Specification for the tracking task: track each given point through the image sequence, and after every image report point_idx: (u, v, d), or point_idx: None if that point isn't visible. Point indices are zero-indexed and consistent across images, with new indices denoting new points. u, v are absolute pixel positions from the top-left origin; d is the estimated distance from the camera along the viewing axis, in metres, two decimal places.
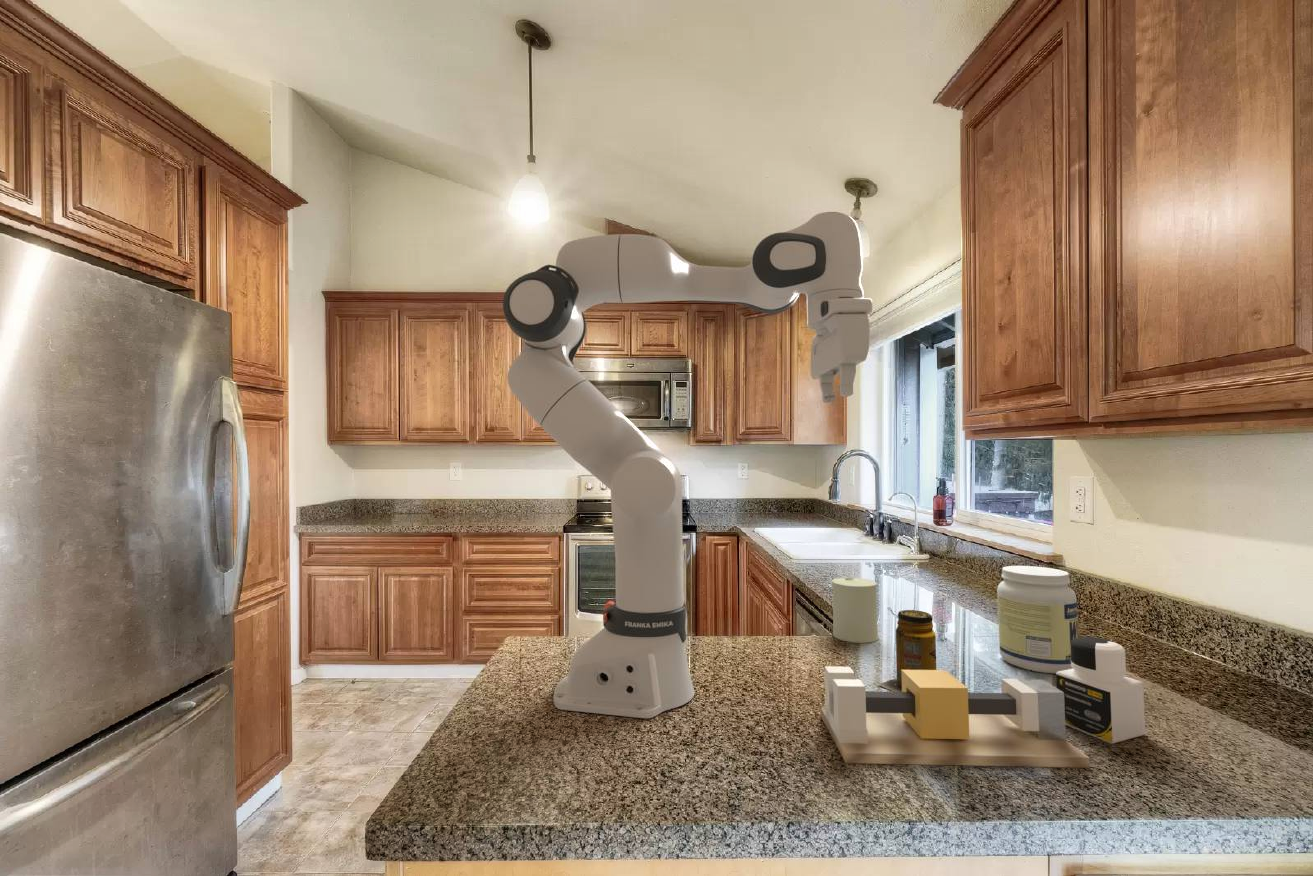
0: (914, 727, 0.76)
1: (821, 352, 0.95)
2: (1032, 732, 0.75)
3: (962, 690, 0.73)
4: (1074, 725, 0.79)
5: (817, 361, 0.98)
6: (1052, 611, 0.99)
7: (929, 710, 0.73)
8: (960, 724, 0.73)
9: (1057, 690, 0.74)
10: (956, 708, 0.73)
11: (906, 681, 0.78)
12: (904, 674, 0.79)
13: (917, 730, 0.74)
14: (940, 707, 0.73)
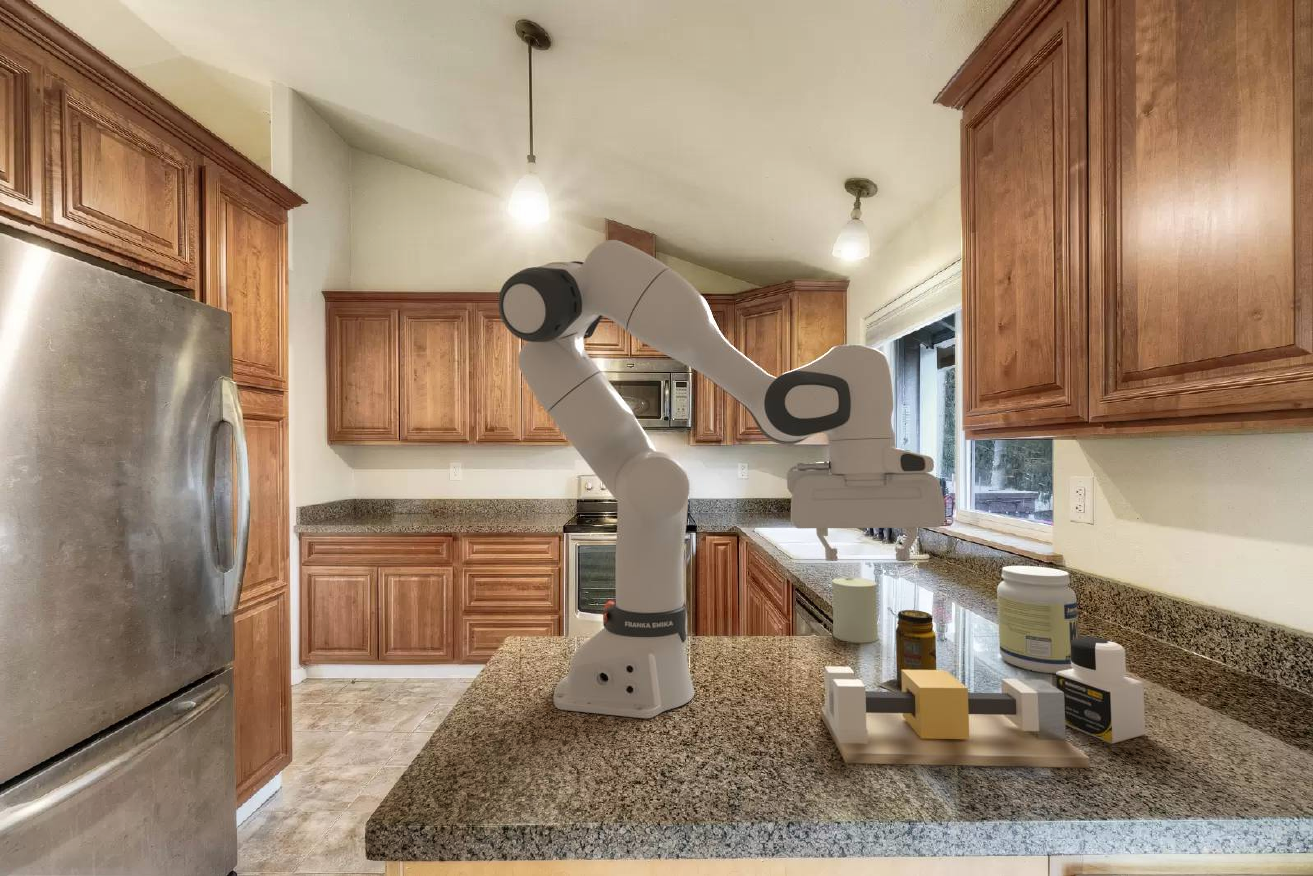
0: (914, 727, 0.76)
1: (850, 503, 0.79)
2: (1032, 732, 0.75)
3: (962, 690, 0.73)
4: (1074, 725, 0.79)
5: (830, 511, 0.79)
6: (1052, 611, 0.99)
7: (929, 710, 0.73)
8: (960, 724, 0.73)
9: (1057, 690, 0.74)
10: (956, 708, 0.73)
11: (906, 681, 0.78)
12: (904, 674, 0.79)
13: (917, 730, 0.74)
14: (940, 707, 0.73)
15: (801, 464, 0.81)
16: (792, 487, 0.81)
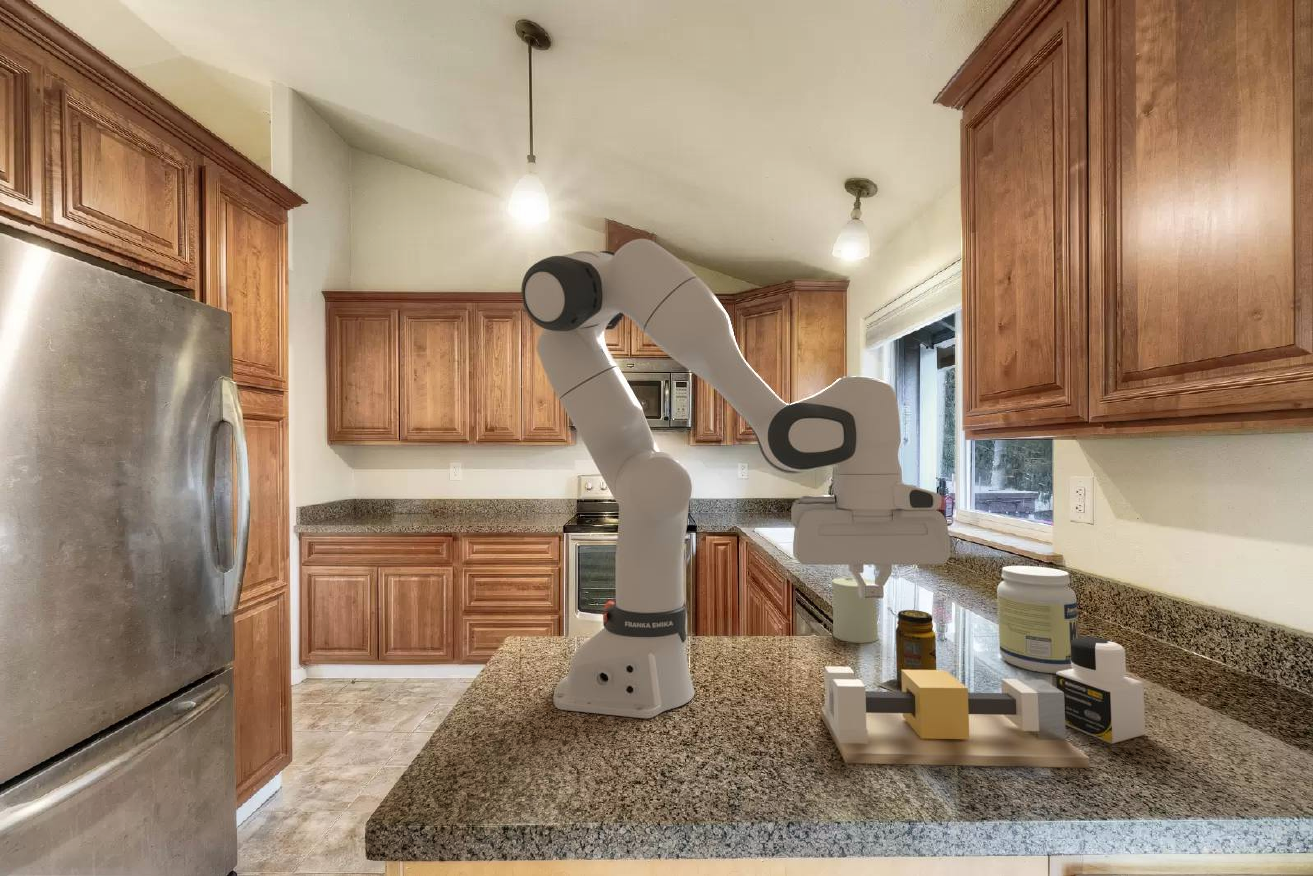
0: (914, 727, 0.76)
1: (856, 539, 0.76)
2: (1032, 732, 0.75)
3: (962, 690, 0.73)
4: (1074, 725, 0.79)
5: (836, 547, 0.76)
6: (1052, 611, 0.99)
7: (929, 710, 0.73)
8: (960, 724, 0.73)
9: (1057, 690, 0.74)
10: (956, 708, 0.73)
11: (906, 681, 0.78)
12: (904, 674, 0.79)
13: (917, 730, 0.74)
14: (940, 707, 0.73)
15: (806, 497, 0.78)
16: (797, 521, 0.78)
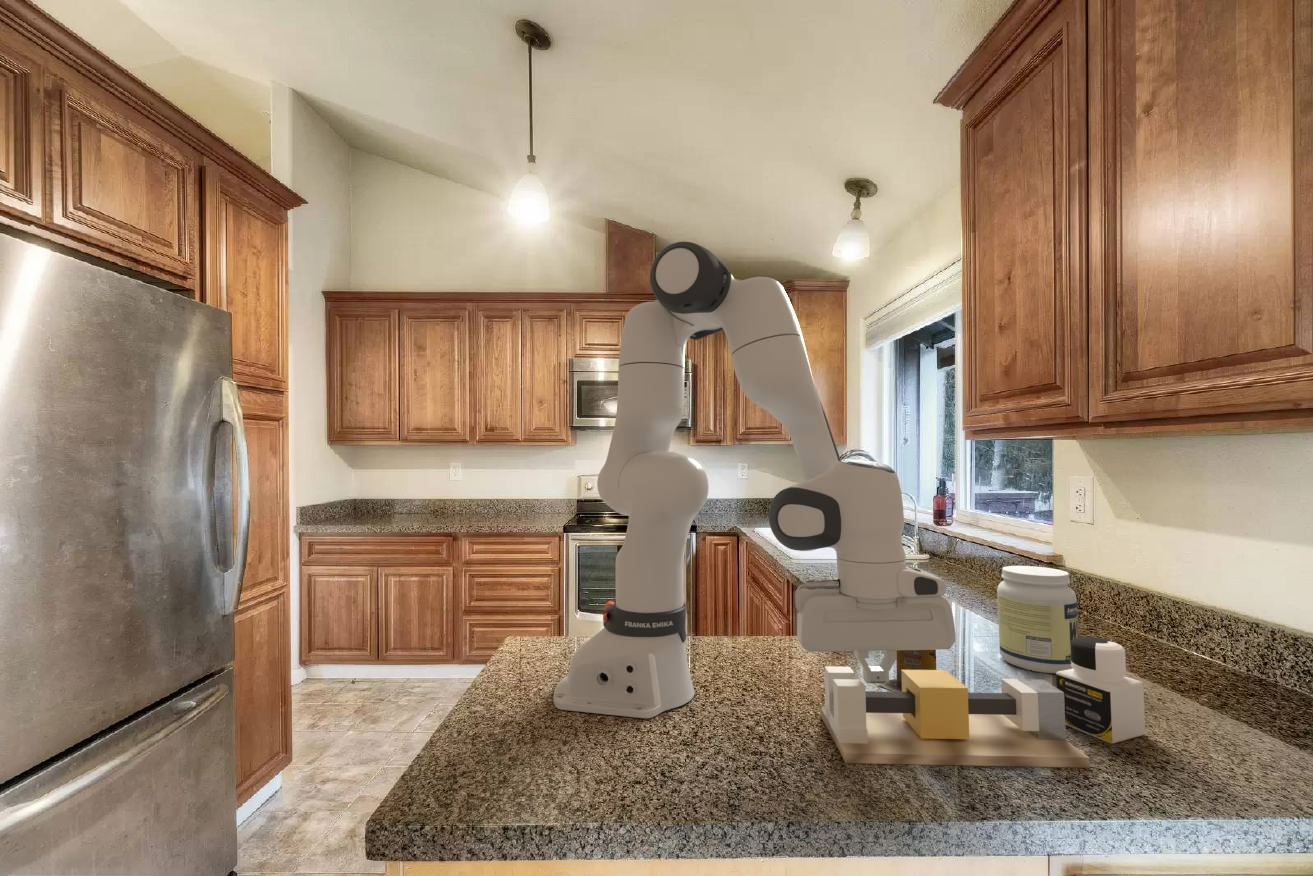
0: (914, 727, 0.76)
1: (861, 625, 0.76)
2: (1032, 732, 0.75)
3: (962, 690, 0.73)
4: (1074, 725, 0.79)
5: (841, 633, 0.76)
6: (1052, 611, 0.99)
7: (929, 710, 0.73)
8: (960, 724, 0.73)
9: (1057, 690, 0.74)
10: (956, 708, 0.73)
11: (906, 681, 0.78)
12: (904, 674, 0.79)
13: (917, 730, 0.74)
14: (940, 707, 0.73)
15: (810, 582, 0.78)
16: (801, 606, 0.78)
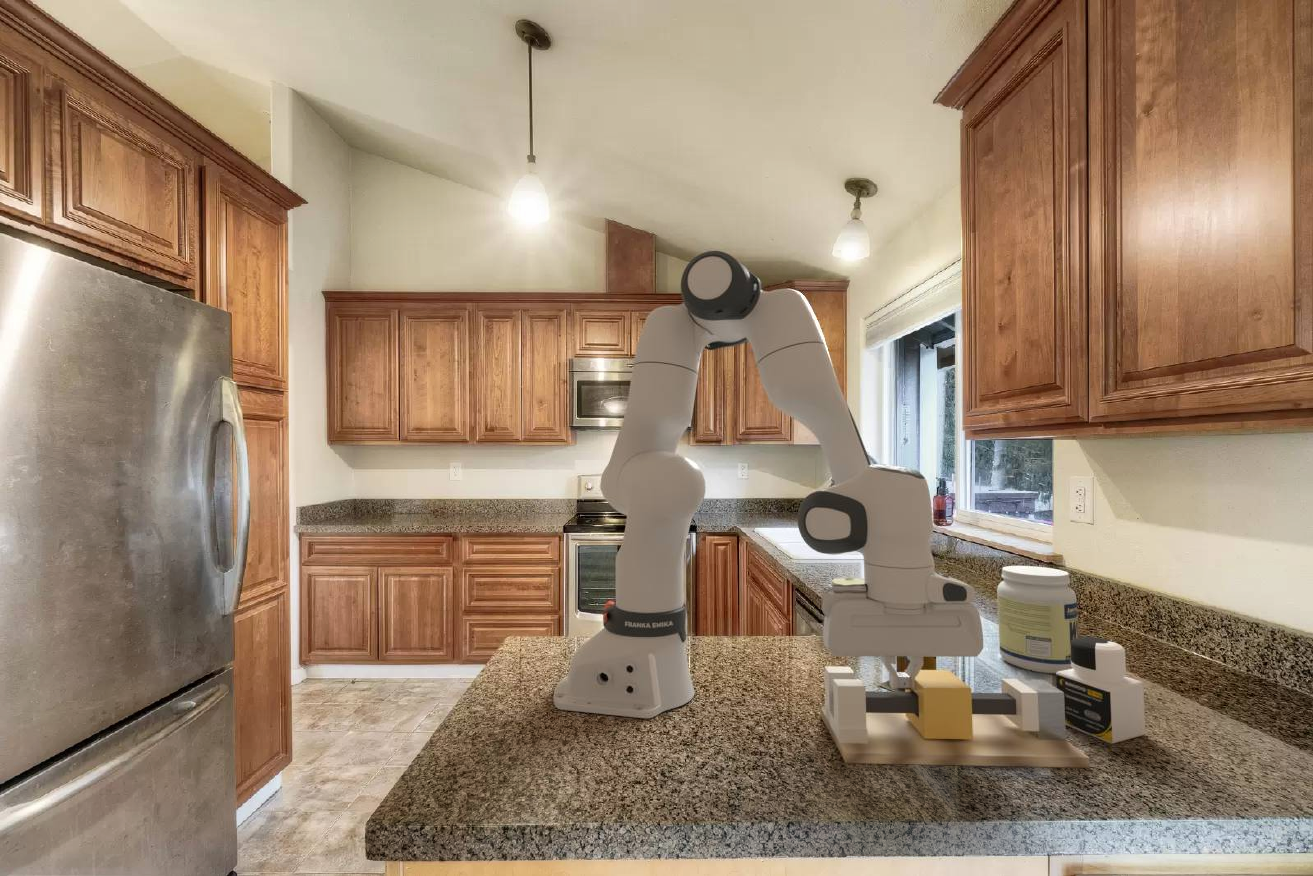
0: (917, 727, 0.76)
1: (889, 630, 0.76)
2: (1032, 732, 0.75)
3: (966, 690, 0.73)
4: (1074, 725, 0.79)
5: (868, 638, 0.76)
6: (1052, 611, 0.99)
7: (932, 710, 0.73)
8: (964, 724, 0.73)
9: (1057, 690, 0.74)
10: (960, 708, 0.73)
11: None
12: None
13: (921, 730, 0.74)
14: (943, 707, 0.73)
15: (837, 586, 0.78)
16: (828, 611, 0.77)
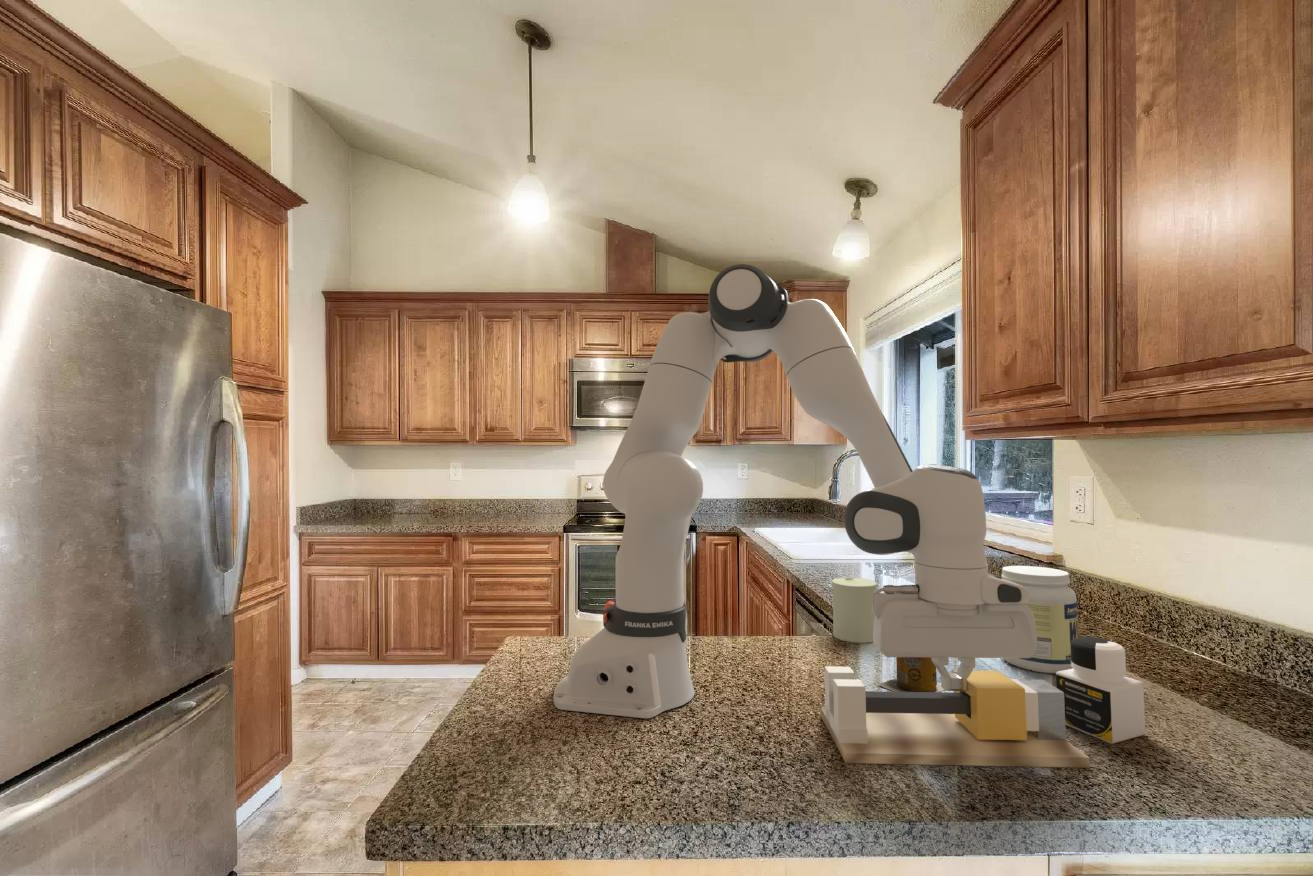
0: (969, 728, 0.75)
1: (941, 631, 0.75)
2: (1032, 732, 0.75)
3: (1019, 691, 0.73)
4: (1074, 725, 0.79)
5: (921, 639, 0.75)
6: (1052, 611, 0.99)
7: (986, 711, 0.73)
8: (1017, 725, 0.73)
9: (1057, 690, 0.74)
10: (1013, 709, 0.73)
11: None
12: None
13: (973, 731, 0.74)
14: (997, 708, 0.73)
15: (889, 587, 0.77)
16: (879, 611, 0.77)
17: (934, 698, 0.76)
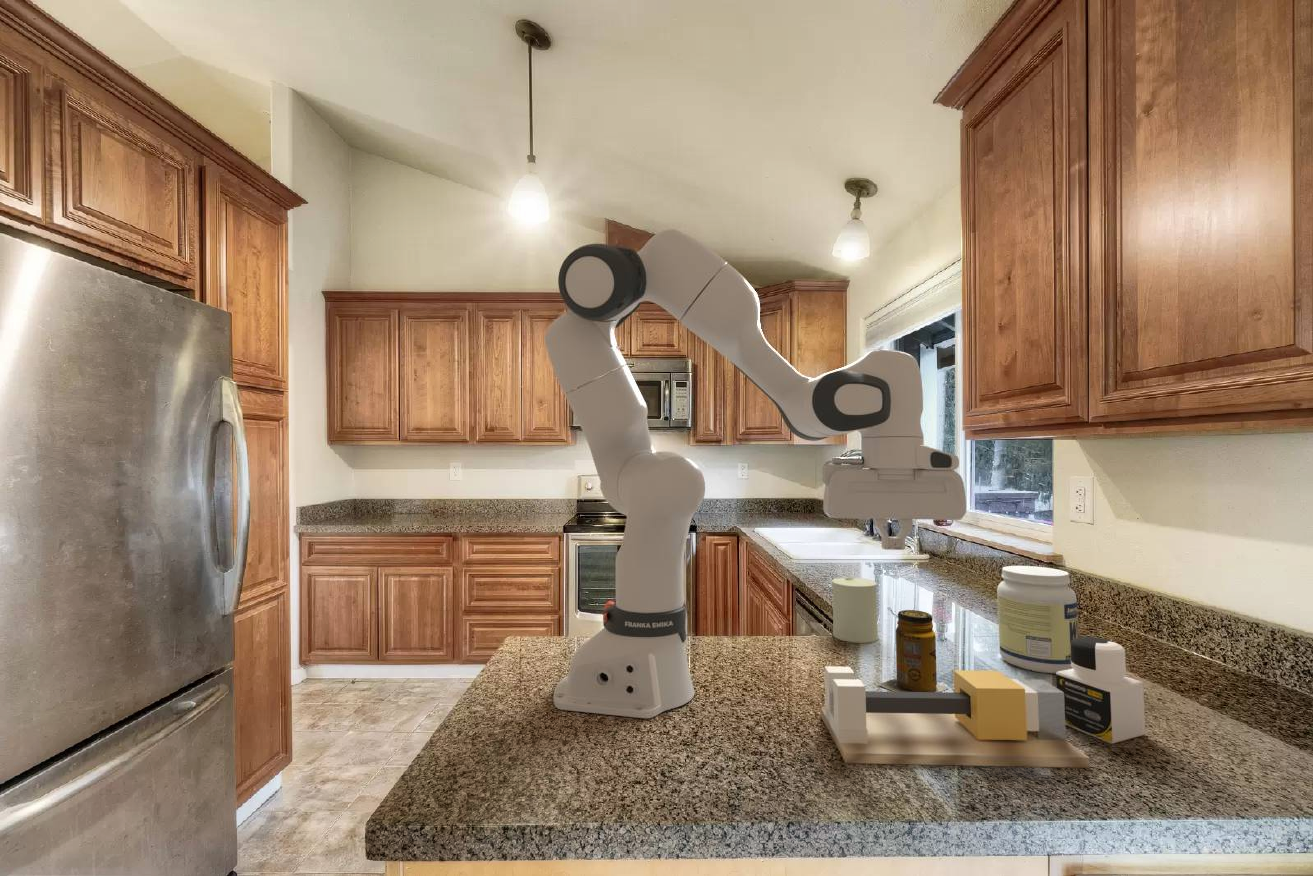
0: (969, 728, 0.75)
1: (881, 495, 0.85)
2: (1032, 732, 0.75)
3: (1019, 691, 0.73)
4: (1074, 725, 0.79)
5: (863, 502, 0.85)
6: (1052, 611, 0.99)
7: (986, 711, 0.73)
8: (1017, 725, 0.73)
9: (1057, 690, 0.74)
10: (1013, 709, 0.73)
11: (960, 682, 0.78)
12: (957, 675, 0.78)
13: (973, 731, 0.74)
14: (997, 708, 0.73)
15: (837, 458, 0.87)
16: (827, 479, 0.87)
17: (934, 698, 0.76)
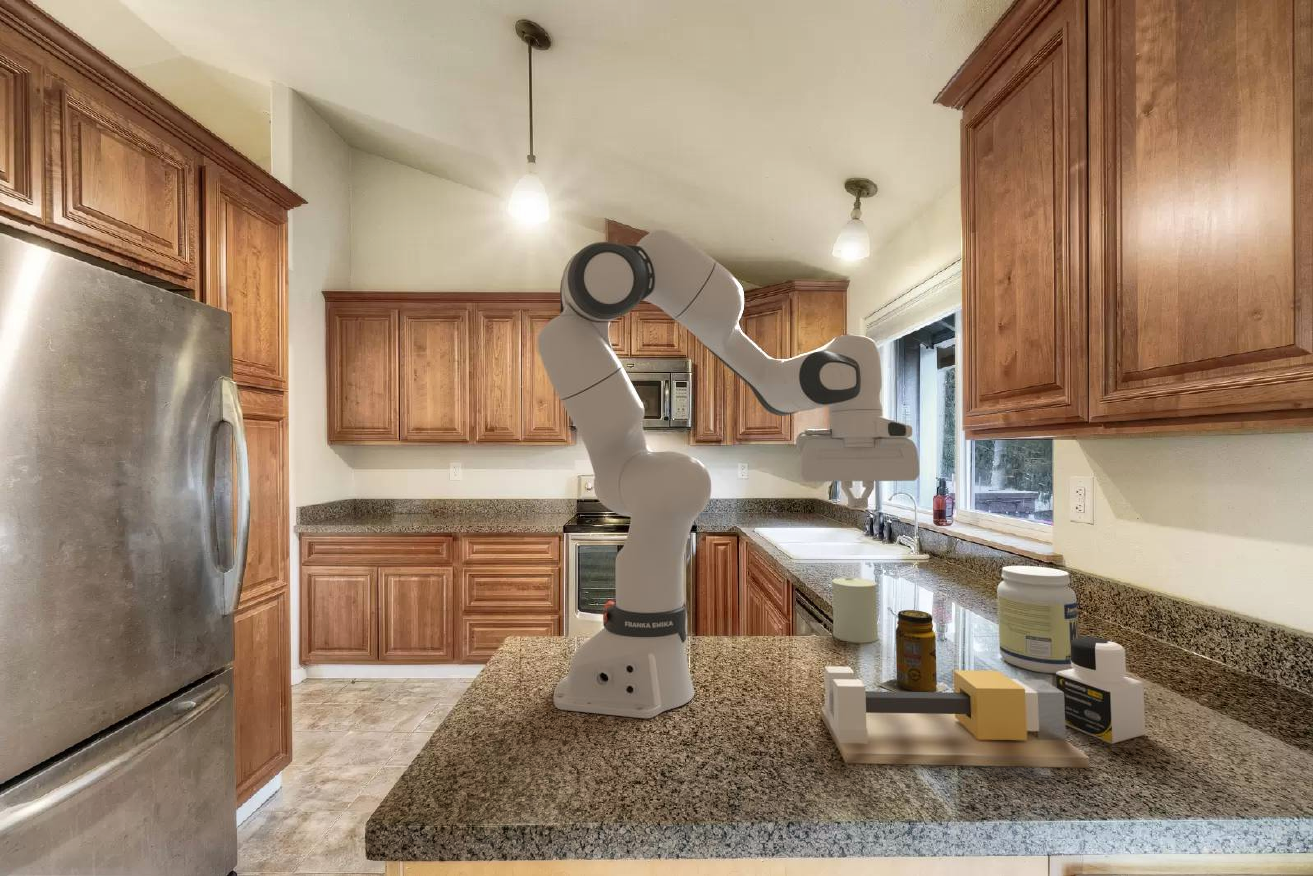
0: (969, 728, 0.75)
1: (847, 461, 0.98)
2: (1032, 732, 0.75)
3: (1019, 691, 0.73)
4: (1074, 725, 0.79)
5: (831, 467, 0.98)
6: (1052, 611, 0.99)
7: (986, 711, 0.73)
8: (1017, 725, 0.73)
9: (1057, 690, 0.74)
10: (1013, 709, 0.73)
11: (960, 682, 0.78)
12: (957, 675, 0.78)
13: (973, 731, 0.74)
14: (997, 708, 0.73)
15: (808, 430, 1.00)
16: (801, 449, 1.00)
17: (934, 698, 0.76)
